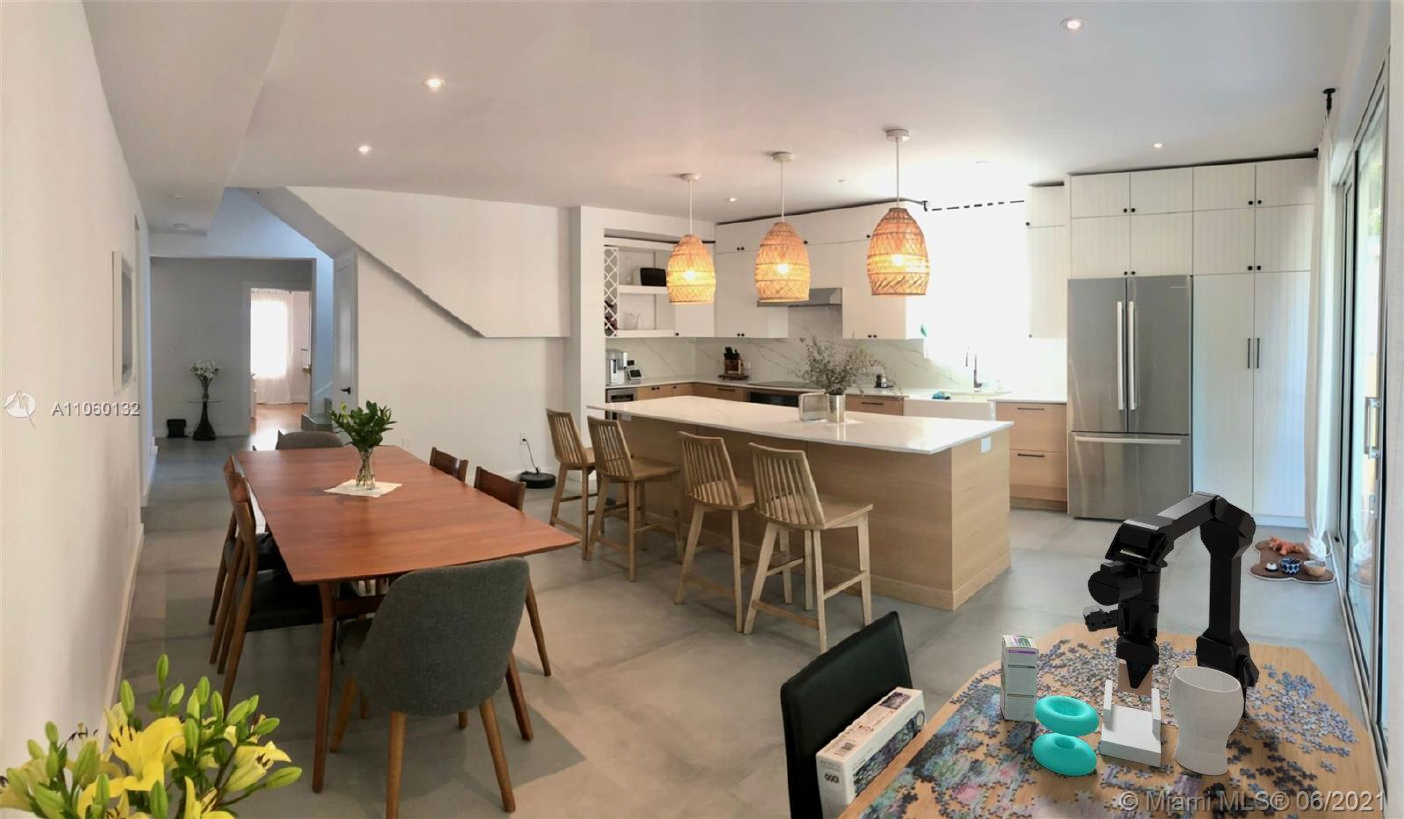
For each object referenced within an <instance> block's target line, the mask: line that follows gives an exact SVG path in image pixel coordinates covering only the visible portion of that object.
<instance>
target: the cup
mask: <svg viewBox="0 0 1404 819" xmlns="http://www.w3.org/2000/svg"><path fill="white" fill-rule="evenodd" d="M1168 699H1169V703H1170V708H1171V712H1172V714H1173V717H1174V719H1175V721H1176V723H1177V731H1178V732H1177V733H1178V739H1177V742H1176V745H1175V750H1174V754H1173V758H1174V759H1175V761H1176V762H1177V763H1178V764H1179V765H1181V766H1182V767H1183V768H1185V769H1187V770H1189V771H1192V772H1195V773H1198V774H1202V775H1208V776H1219V775H1220V776H1221V775H1223V774H1226V773H1227V771H1228V769H1229V768H1228V756H1227V748H1226V747H1227V743H1228V739H1229V736H1230V734H1232V733H1233V732H1234V730H1235V729H1236V728H1237V726H1238V724H1239V723H1240V721H1241V718H1242V717H1241V716H1242V713H1243V705H1244V699H1243V693H1242V688H1241V685H1240V682H1239V681H1238V680H1237V679H1235V678H1234V677H1232V676H1230V675H1228V674H1226V673H1224V672H1221V671H1217V670H1214V669H1210V668H1205V667H1198V665H1197V666H1196V665H1195V666H1193V665H1186V666H1180V667H1177V668H1175V669H1174V672H1173V674H1172V677H1171V679H1170V682H1169V685H1168Z"/></svg>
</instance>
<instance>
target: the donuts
mask: <svg viewBox="0 0 1404 819" xmlns="http://www.w3.org/2000/svg"><path fill="white" fill-rule="evenodd" d="M1034 712H1035V716H1036V720H1037V721H1038V722H1039V723H1040V725H1042V726H1043V727H1044V728H1046V729H1048V730H1049V731H1052V733H1046V734H1045V733H1044V734H1042V735H1040V736H1039V737H1037V738H1036V739H1035V740H1034V741H1033V743H1032V747H1031V748H1032V754H1033V757H1034V758H1035V760H1036V761H1037V762H1038V763H1039V764H1040V765H1041V766H1043V767H1044V768H1045V769H1048V770H1049V771H1051V772H1054V773H1057V774H1061V775H1065V776H1074V777H1076V776H1077V777H1078V776H1085V775H1088V774H1090V773H1091V772H1093V771H1094V770H1095V769H1096V767H1097V764H1098V763H1097V762H1098V758H1097V754H1096V752H1095V751H1094V749H1093V748H1092V747H1091V746H1090V745H1089V744H1088V743H1087V742H1085V741H1084V740H1082V739H1080V738H1078V737H1084V736H1087V735H1091V734H1093V733H1094V732H1095V731H1096V730H1098V728H1099V726H1100V717H1099V714H1098V713H1097V710H1096V709H1094V707H1092V706H1091V705H1090V704H1088V703H1086V702H1084V701H1082V700H1080V699H1076V698H1075V697H1074V698H1073V697H1070V696H1064V695H1048V696H1045V697H1042V698H1040V699H1039V700H1038V701H1036V705H1035V708H1034Z"/></svg>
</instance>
